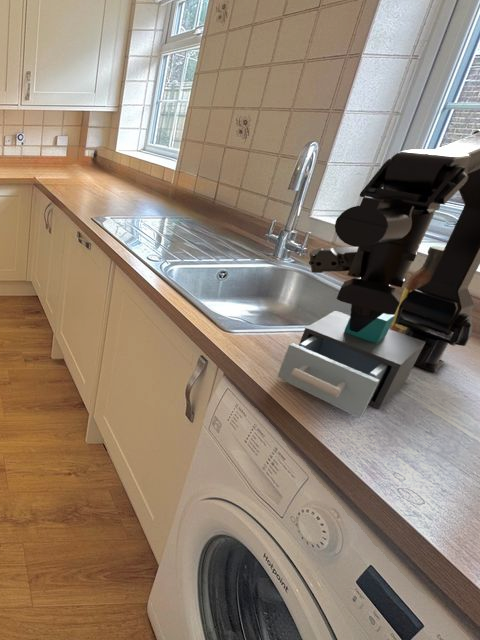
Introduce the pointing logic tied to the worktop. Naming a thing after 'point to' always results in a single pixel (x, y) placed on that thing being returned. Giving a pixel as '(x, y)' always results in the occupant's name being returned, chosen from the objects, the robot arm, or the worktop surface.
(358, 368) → the dispenser drawer
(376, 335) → the teal cube white top
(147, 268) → the worktop surface
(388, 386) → the grey drawer box
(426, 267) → the sauce bottle
